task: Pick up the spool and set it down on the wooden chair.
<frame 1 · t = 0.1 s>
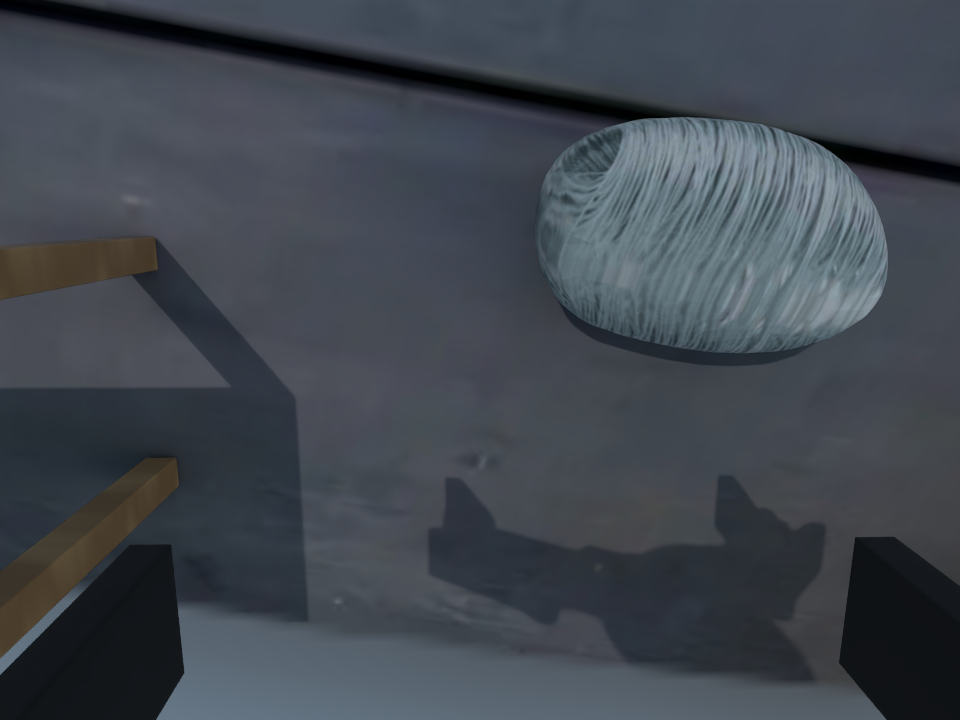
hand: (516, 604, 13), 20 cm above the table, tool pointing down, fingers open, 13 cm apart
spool: (671, 237, 31), on the table
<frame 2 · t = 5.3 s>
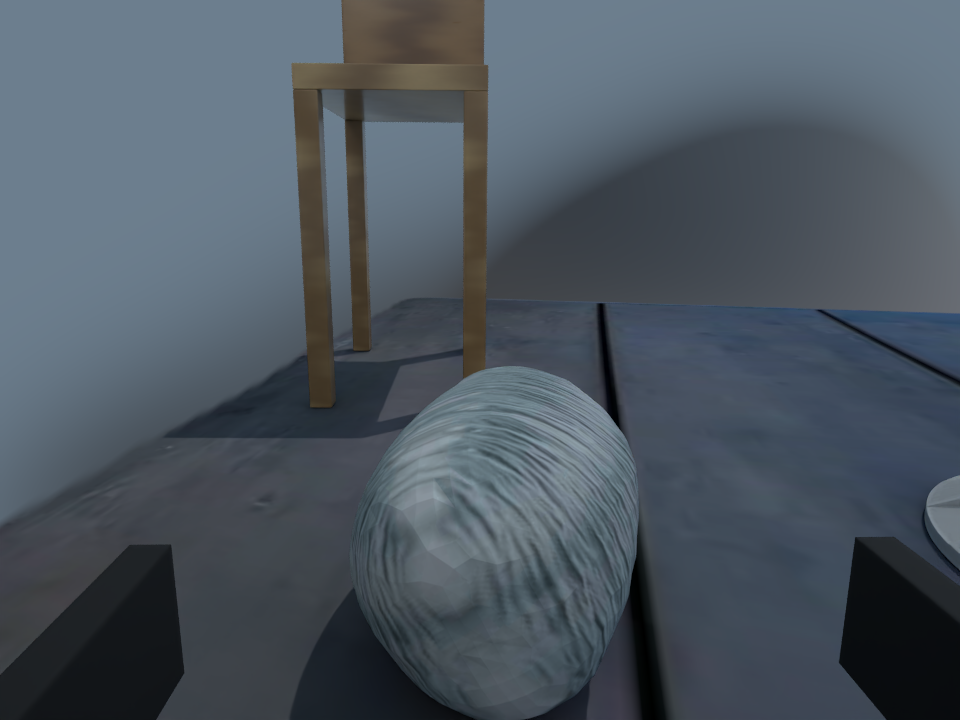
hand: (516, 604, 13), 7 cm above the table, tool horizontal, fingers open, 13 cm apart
wooden chair: (404, 87, 51), on the table
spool: (497, 618, 24), on the table
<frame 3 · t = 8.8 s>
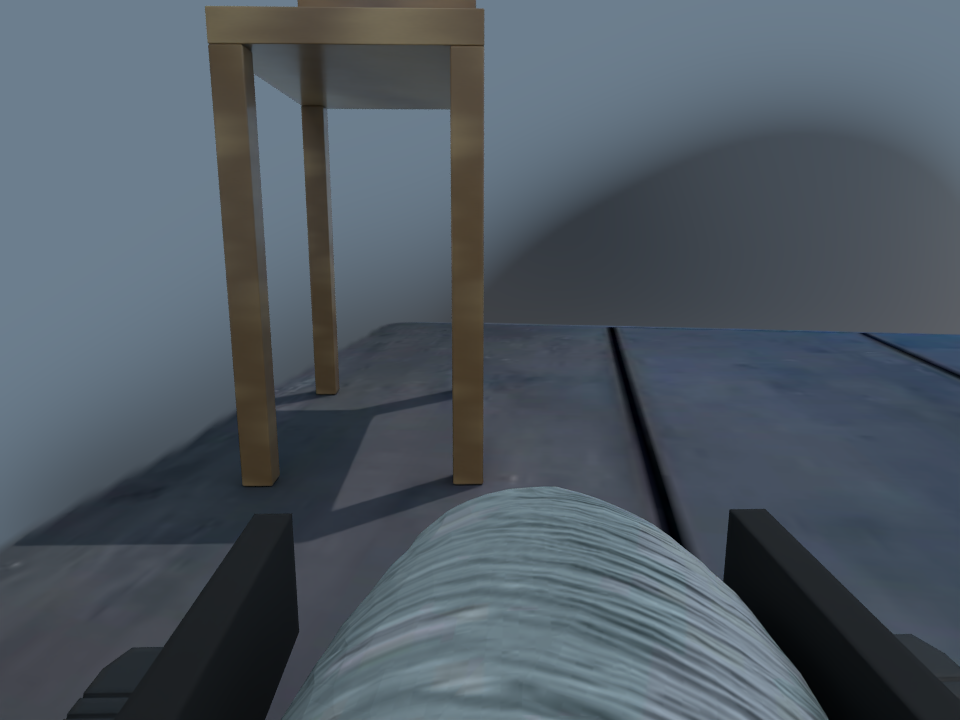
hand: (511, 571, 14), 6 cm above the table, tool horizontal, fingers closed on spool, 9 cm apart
wooden chair: (373, 56, 38), on the table
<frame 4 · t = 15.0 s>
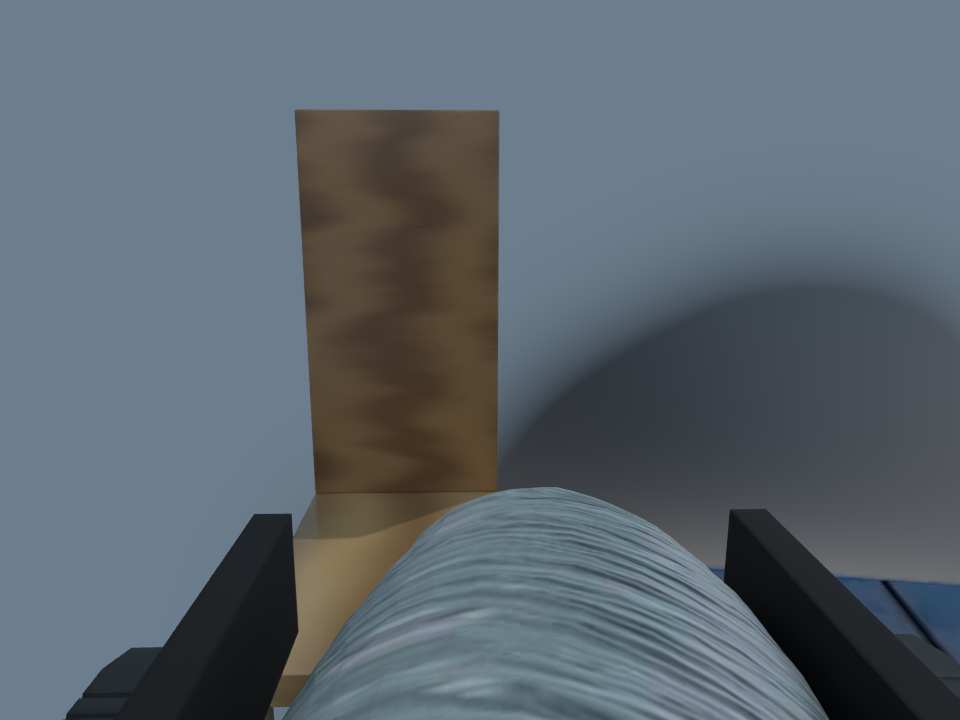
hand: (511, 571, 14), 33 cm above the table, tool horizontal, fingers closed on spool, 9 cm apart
wooden chair: (394, 556, 37), on the table
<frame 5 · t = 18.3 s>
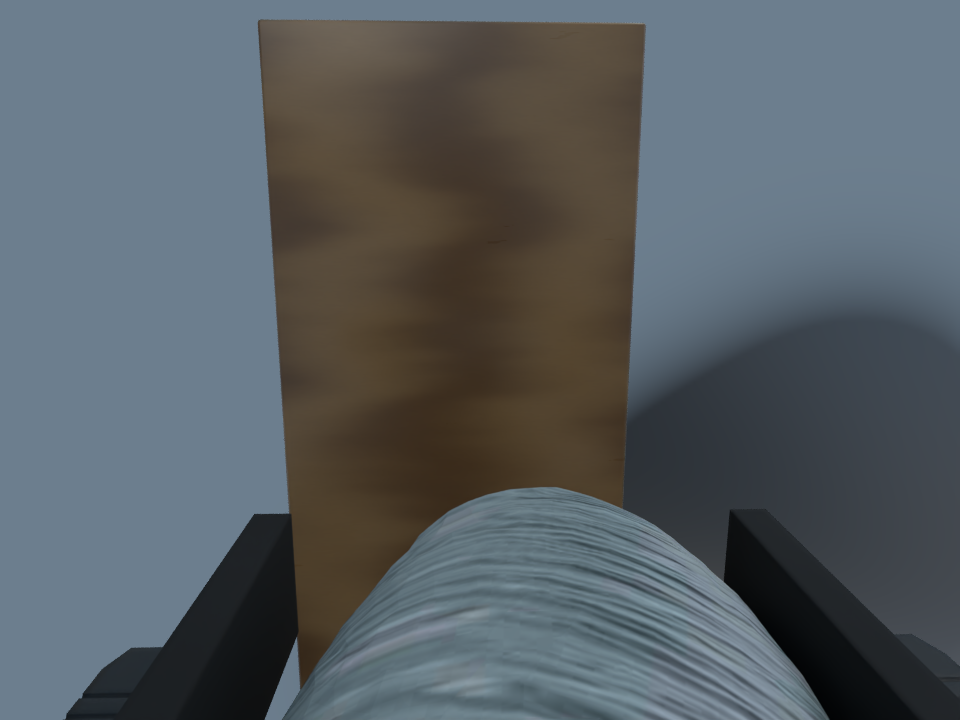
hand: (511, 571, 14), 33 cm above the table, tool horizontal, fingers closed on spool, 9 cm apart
when the fingers open (28 cm above the table, at t = 21.1 s): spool stays where it is, resting on wooden chair.
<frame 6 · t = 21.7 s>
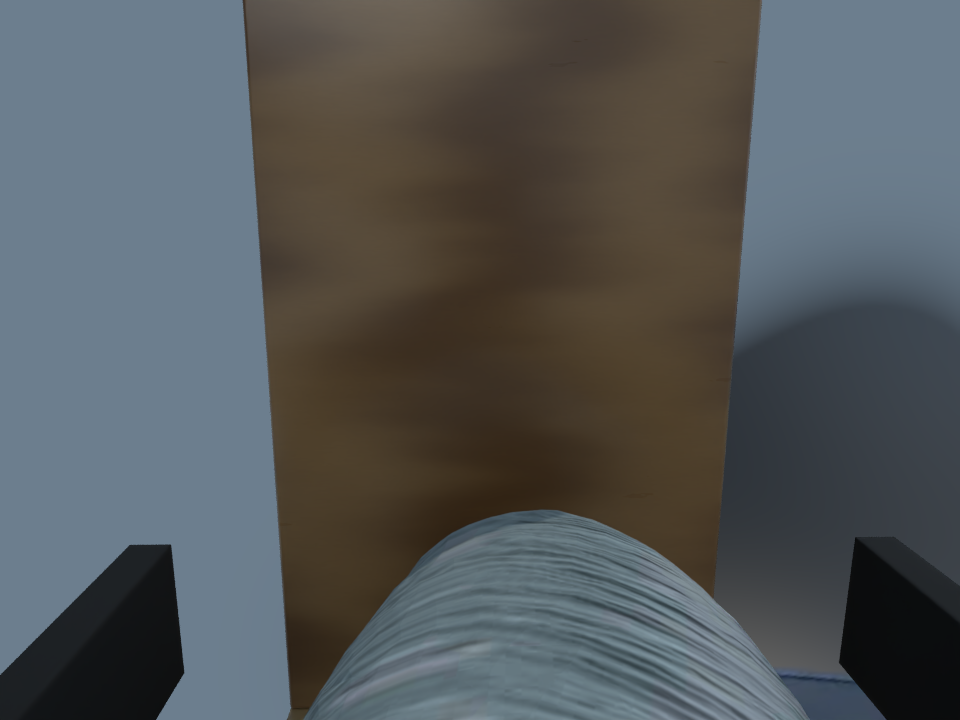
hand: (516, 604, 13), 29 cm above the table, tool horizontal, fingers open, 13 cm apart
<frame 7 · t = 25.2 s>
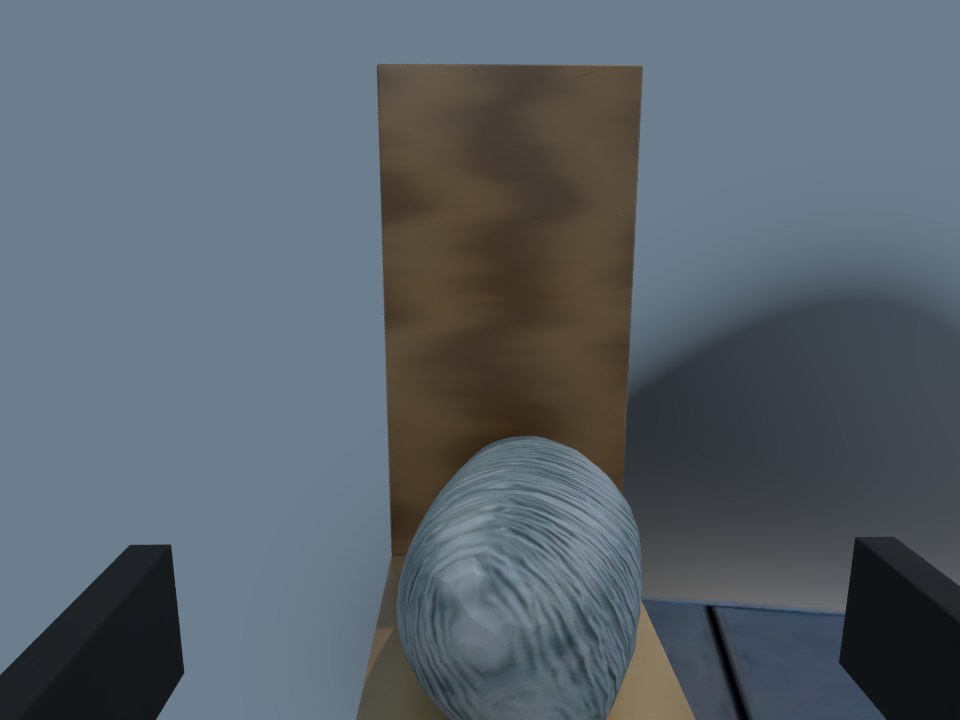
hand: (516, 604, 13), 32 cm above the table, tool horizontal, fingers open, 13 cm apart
wooden chair: (518, 658, 27), on the table
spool: (518, 663, 27), point 22 cm above the table, touching wooden chair
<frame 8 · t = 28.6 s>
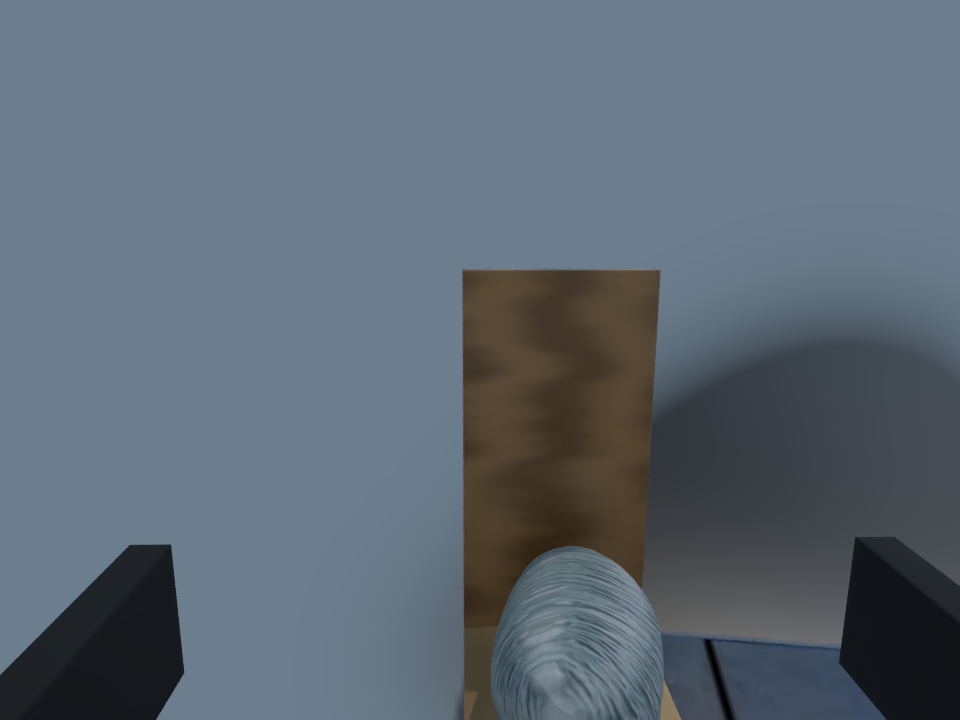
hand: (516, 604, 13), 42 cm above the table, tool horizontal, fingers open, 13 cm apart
wooden chair: (572, 716, 38), on the table
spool: (572, 719, 38), point 22 cm above the table, touching wooden chair
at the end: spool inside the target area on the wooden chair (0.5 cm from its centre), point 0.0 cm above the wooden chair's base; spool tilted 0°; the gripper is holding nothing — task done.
